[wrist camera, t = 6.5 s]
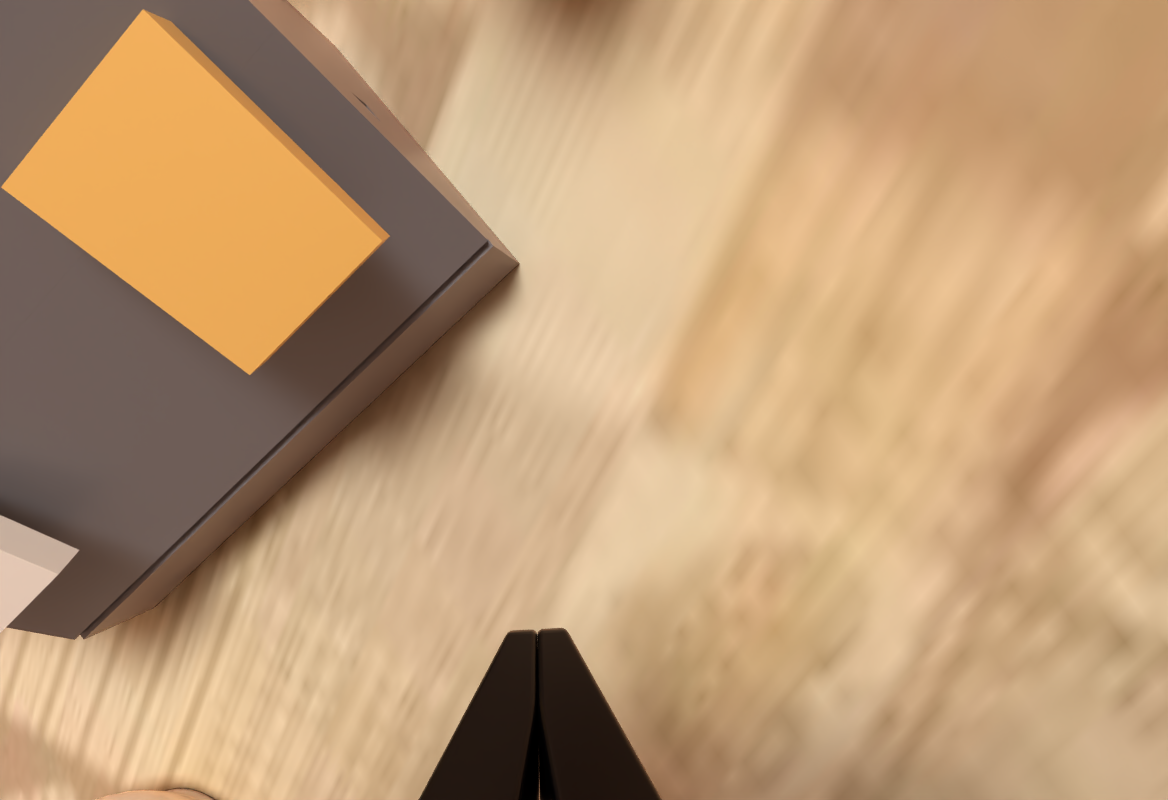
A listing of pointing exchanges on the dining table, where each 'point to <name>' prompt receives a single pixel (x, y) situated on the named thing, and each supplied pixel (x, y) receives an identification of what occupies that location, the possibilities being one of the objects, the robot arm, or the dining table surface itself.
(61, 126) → the block
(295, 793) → the dining table surface
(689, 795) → the dining table surface
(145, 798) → the lidded jar
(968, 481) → the dining table surface
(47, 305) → the switch console
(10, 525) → the block
